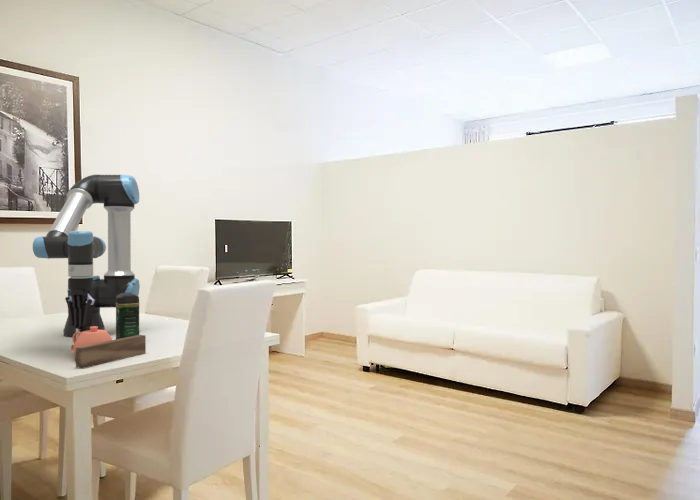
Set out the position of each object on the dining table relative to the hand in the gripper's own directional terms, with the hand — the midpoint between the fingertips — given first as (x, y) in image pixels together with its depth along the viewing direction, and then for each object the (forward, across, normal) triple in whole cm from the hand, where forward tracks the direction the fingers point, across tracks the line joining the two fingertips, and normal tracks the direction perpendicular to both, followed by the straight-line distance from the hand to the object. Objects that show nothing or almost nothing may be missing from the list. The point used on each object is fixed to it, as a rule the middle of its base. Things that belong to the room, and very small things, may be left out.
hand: (80, 347), depth 181 cm
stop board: (+2, +15, 0) cm, 15 cm away
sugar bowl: (+3, +7, -1) cm, 7 cm away
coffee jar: (+3, -4, +22) cm, 23 cm away
